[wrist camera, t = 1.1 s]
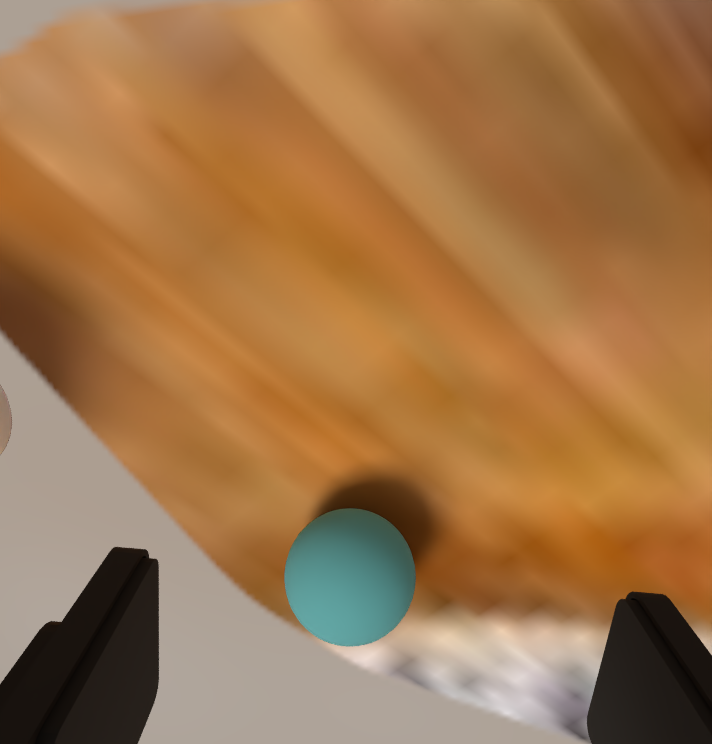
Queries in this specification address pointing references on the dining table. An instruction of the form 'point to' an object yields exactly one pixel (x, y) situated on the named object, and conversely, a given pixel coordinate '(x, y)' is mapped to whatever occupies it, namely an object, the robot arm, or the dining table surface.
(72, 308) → the dining table surface
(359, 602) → the ball
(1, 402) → the cup
